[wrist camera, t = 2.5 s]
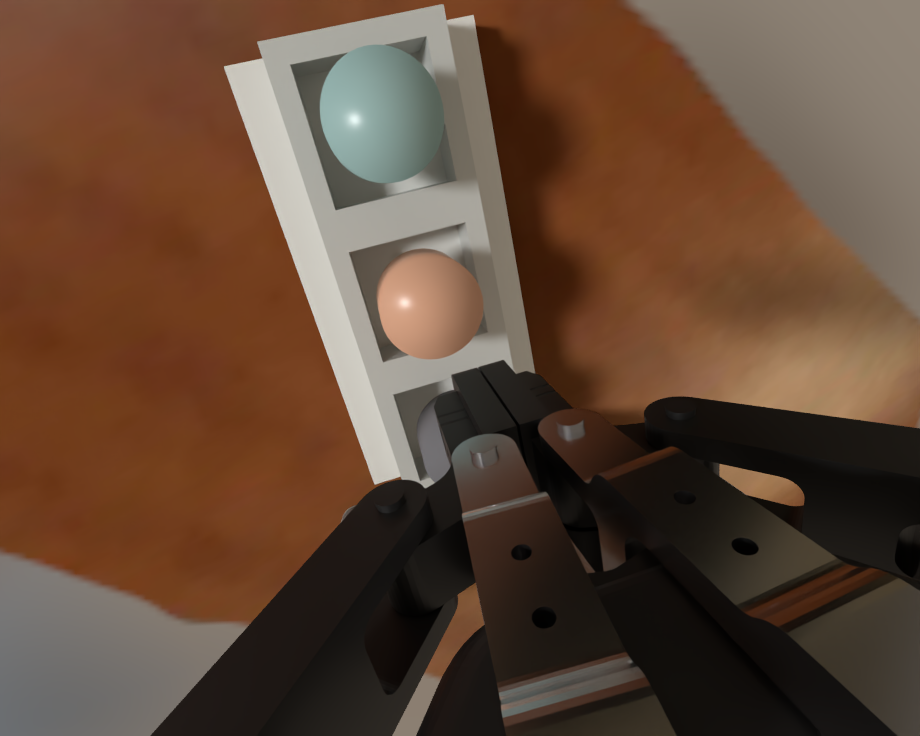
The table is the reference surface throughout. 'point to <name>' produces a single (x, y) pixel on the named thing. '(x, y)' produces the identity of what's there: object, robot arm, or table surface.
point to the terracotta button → (428, 304)
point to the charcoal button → (432, 442)
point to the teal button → (381, 114)
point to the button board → (386, 219)
